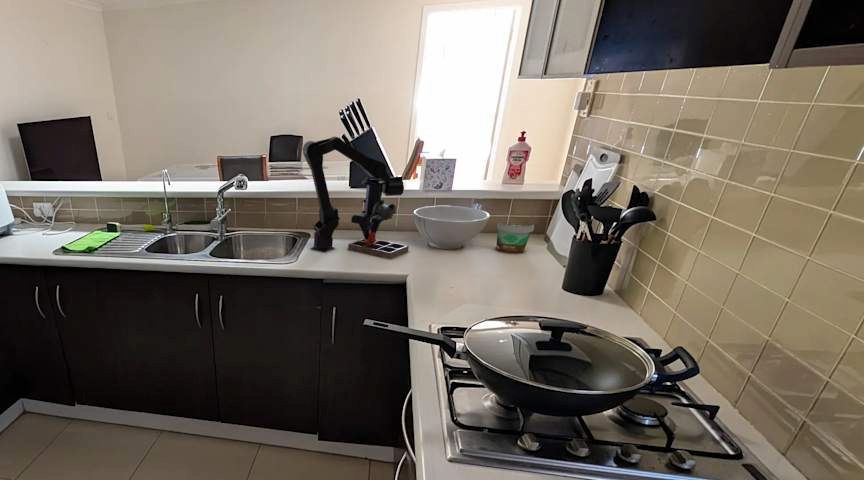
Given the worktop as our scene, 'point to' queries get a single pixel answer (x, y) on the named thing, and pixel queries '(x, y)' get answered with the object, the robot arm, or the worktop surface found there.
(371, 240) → the red short cylinder
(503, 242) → the food container
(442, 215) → the decorative bowl
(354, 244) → the grid
